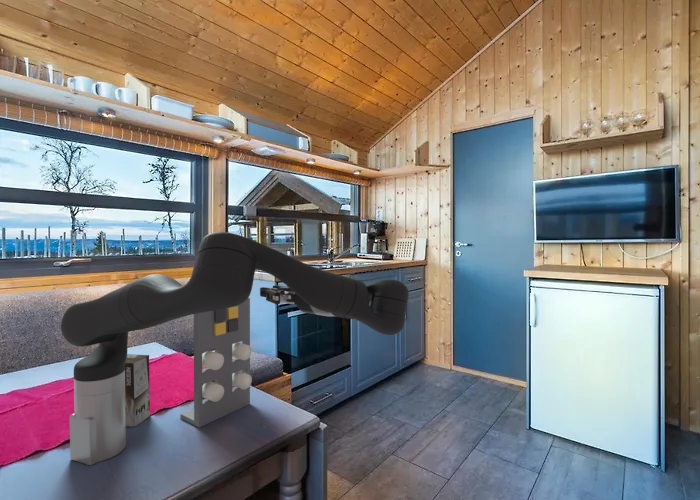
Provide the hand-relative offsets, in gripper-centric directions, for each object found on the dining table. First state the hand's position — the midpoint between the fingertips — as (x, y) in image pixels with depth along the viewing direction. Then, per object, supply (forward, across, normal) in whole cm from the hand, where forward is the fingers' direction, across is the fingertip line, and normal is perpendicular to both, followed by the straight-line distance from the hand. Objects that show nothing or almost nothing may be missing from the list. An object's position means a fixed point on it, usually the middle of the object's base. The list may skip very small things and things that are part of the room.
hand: (267, 290), depth 91 cm
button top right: (+13, -2, +20) cm, 24 cm away
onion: (+30, -4, +34) cm, 46 cm away
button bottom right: (+13, -2, +28) cm, 31 cm away
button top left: (+13, +7, +20) cm, 25 cm away
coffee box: (+32, +18, +34) cm, 50 cm away
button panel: (+17, +2, +34) cm, 38 cm away
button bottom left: (+13, +7, +28) cm, 31 cm away
